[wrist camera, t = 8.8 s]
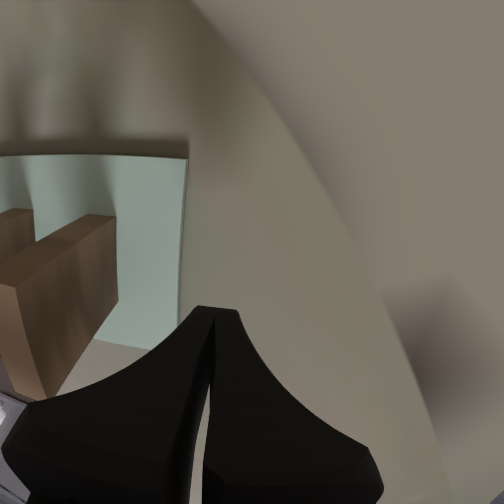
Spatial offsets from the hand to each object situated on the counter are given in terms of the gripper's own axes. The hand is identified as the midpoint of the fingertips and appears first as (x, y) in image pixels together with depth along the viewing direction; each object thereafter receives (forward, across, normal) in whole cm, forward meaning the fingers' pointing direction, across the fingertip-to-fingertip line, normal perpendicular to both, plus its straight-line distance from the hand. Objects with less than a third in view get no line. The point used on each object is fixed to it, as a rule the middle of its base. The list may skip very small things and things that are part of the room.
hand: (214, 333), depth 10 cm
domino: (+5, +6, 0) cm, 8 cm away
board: (+5, +16, 0) cm, 17 cm away
